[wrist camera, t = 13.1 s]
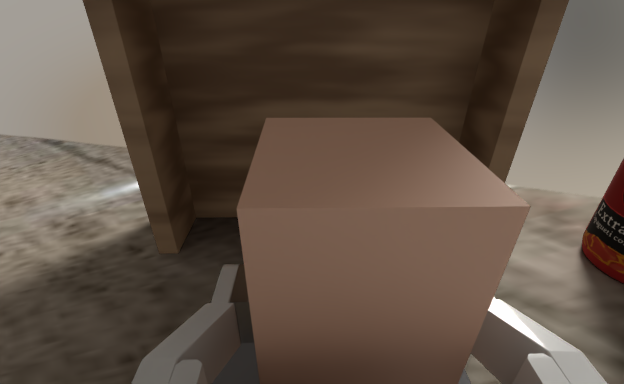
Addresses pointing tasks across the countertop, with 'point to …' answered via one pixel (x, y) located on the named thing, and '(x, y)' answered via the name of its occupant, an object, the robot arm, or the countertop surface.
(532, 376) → the robot arm
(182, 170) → the shelf
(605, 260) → the canned food
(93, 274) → the countertop surface
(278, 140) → the block
